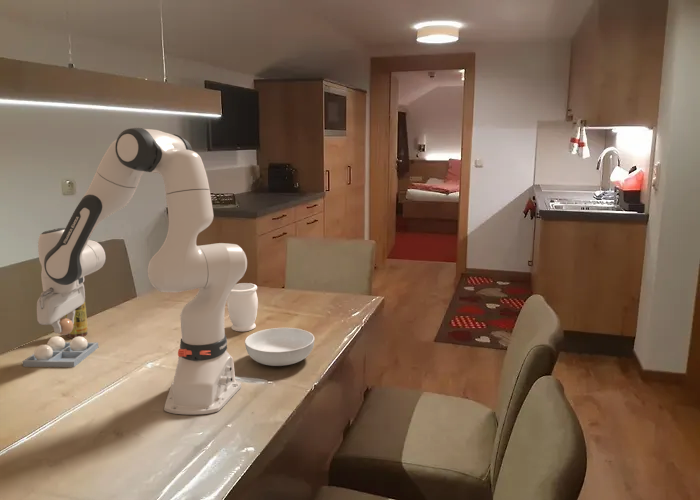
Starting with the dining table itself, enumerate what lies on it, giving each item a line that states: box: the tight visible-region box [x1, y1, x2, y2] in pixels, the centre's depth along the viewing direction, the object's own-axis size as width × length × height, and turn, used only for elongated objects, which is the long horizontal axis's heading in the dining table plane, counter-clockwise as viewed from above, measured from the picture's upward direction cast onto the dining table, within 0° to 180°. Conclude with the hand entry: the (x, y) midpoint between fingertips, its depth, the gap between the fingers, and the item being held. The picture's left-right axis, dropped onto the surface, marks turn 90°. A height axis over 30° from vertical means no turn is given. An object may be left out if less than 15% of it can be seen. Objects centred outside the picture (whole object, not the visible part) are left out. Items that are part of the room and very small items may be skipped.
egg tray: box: [22, 341, 99, 368], centre depth 173 cm, size 15×15×2 cm
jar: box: [226, 282, 259, 332], centre depth 198 cm, size 11×10×15 cm
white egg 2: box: [46, 335, 66, 351], centre depth 177 cm, size 5×5×5 cm
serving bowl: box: [244, 327, 315, 367], centre depth 172 cm, size 21×21×7 cm
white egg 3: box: [70, 336, 88, 351], centre depth 176 cm, size 5×5×5 cm
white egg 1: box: [33, 344, 53, 360], centre depth 170 cm, size 5×5×5 cm
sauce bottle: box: [65, 300, 89, 339], centre depth 190 cm, size 7×6×20 cm
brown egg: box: [57, 317, 73, 336], centre depth 168 cm, size 5×5×5 cm
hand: (64, 328), depth 168 cm, fingers closed on brown egg, 5 cm apart
